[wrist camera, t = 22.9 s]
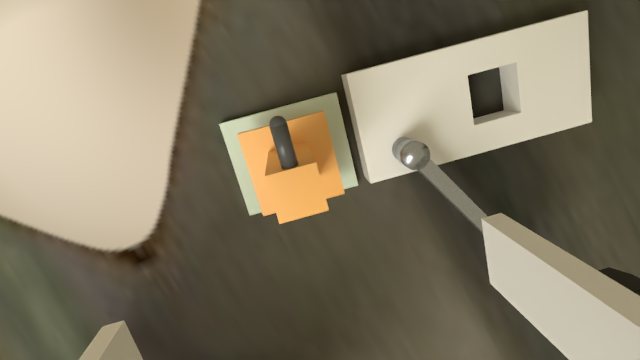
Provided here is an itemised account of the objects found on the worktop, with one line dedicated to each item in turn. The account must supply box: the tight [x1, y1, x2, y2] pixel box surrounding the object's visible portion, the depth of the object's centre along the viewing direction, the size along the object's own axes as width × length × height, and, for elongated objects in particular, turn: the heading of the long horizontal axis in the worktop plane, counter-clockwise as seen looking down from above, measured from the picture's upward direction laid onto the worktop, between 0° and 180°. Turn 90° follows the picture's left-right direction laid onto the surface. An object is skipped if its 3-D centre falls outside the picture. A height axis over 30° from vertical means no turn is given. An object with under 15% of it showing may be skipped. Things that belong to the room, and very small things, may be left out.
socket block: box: [341, 10, 592, 183], centre depth 37 cm, size 24×11×4 cm, turn 103°
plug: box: [237, 110, 345, 224], centre depth 31 cm, size 8×9×13 cm
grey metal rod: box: [396, 139, 488, 234], centre depth 37 cm, size 21×3×2 cm, turn 46°
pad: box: [219, 92, 358, 215], centre depth 38 cm, size 12×10×1 cm
